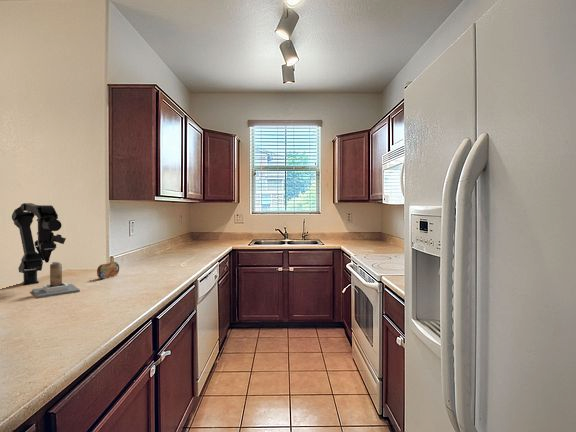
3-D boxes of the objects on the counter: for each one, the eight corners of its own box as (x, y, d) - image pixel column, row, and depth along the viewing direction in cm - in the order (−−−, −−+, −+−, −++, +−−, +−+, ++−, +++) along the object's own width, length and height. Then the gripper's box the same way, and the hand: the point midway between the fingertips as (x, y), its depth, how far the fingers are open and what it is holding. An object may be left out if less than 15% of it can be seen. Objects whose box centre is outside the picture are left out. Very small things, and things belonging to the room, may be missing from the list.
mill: (51, 288, 157) (51, 261, 156) (62, 287, 159) (62, 261, 158) (49, 290, 153) (49, 263, 152) (60, 290, 154) (60, 263, 154)
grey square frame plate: (32, 291, 155) (32, 285, 155) (71, 285, 167) (71, 280, 167) (38, 298, 144) (37, 291, 144) (79, 291, 156) (79, 285, 155)
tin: (100, 280, 180) (100, 265, 180) (95, 280, 181) (95, 264, 180) (119, 274, 195) (119, 260, 195) (115, 274, 195) (115, 260, 195)
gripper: (68, 230, 162) (68, 261, 162) (60, 228, 175) (60, 257, 175) (40, 231, 154) (40, 264, 154) (34, 229, 167) (34, 259, 168)
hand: (45, 261), depth 163 cm, fingers open, 9 cm apart
